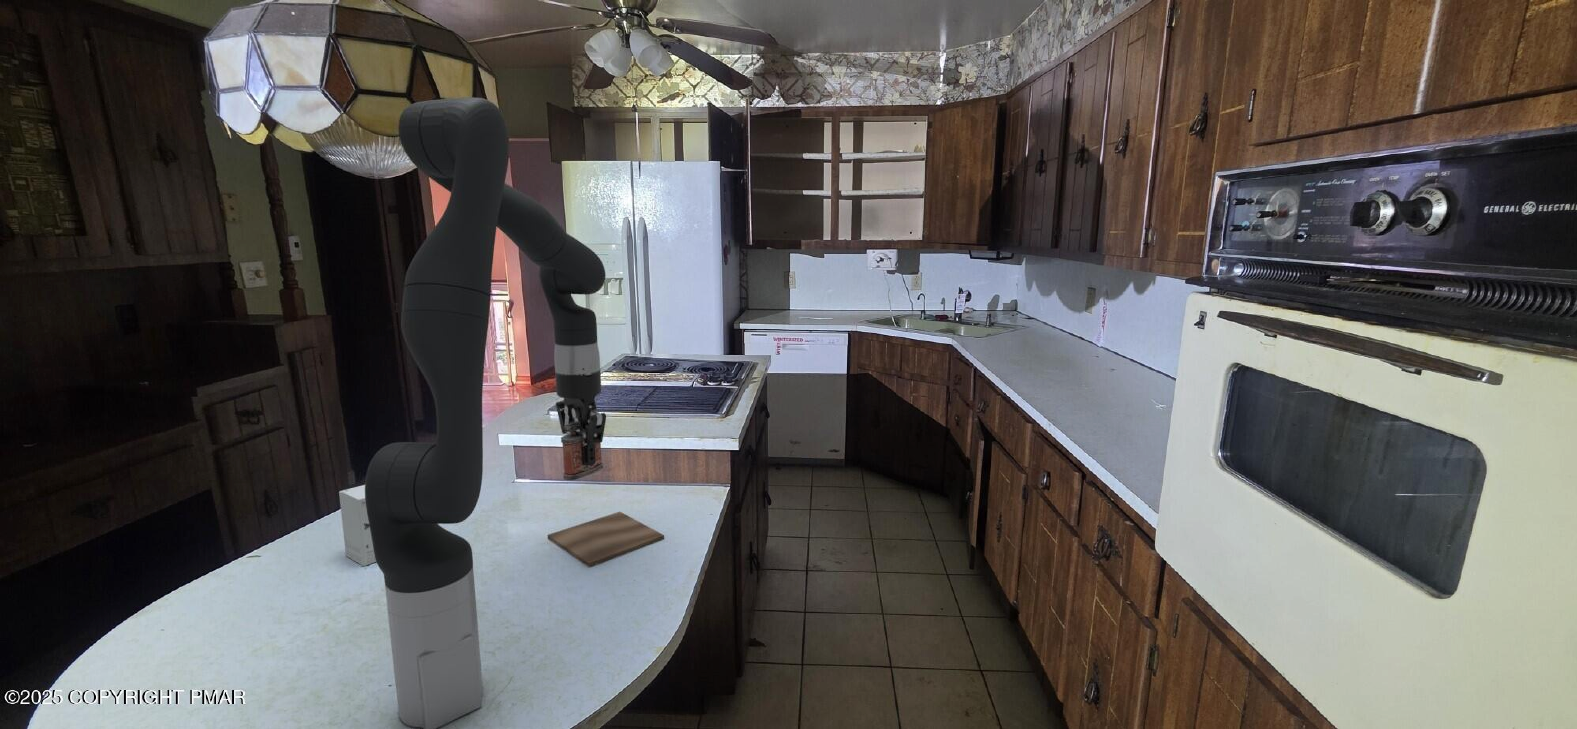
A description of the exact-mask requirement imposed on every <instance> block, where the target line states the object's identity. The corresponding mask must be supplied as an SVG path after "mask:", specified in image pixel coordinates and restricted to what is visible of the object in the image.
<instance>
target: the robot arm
mask: <svg viewBox="0 0 1577 729" xmlns="http://www.w3.org/2000/svg"><path fill="white" fill-rule="evenodd" d="M501 111H502V110H500V108H499V107H498V106H497V105H496V104H495V103H494V102H492V101H490V100H488V99H487V98H483V97H473V96H472V97H456V98H442V99H432V100H423V101H417V102H414V103H411V104H409V105H408V106H406V108H404V109H403V110H402V113H401V114H400V115H399V119H398V137H399V140H400V143H401V147H402V148H403V150H404V152H405V155H406V156H407V157H408V158H409V160H410V161H411V163H413V165H414V166H416V168H417V169H419V171H421V172H422V173H423V174H424V175H426V176H427V177H428V178H430V180H432V181H434V182H435V183H436V184H438V185H439V186H441V187H442V188H444V189H445V190H447V191H448V192H449V193H450V196H449V200H448V203H447V205H446V208H445V210H444V212H443V214H442V216H440V219H439V220H438V222H437V223H436V225H434V228H433V229H432V231H431V232H430V233H429V234H428V236H427V237H426V239H425V240H424V241H423V243H422V244H421V245H420V247H419V249H418V250H417V252H416V254H415V255H414V256H413V258H412V260H411V262H410V264H409V266H408V269H407V270H406V273H405V279H404V283H403V284H404V286H403V287H404V288H403V296H402V305H401V318H400V319H401V320H400V326H401V327H400V328H401V333H402V336H403V339H404V341H405V344H406V346H407V348H408V350H409V352H410V354H411V356H412V358H413V360H414V361H415V363H416V364H417V367H418V368H419V370H420V372H421V374H422V375H423V377H424V379H425V381H426V383H427V385H428V386H429V389H430V391H431V394H432V397H433V401H434V405H435V411H436V413H435V414H436V441H435V442H416V441H404V442H403V441H402V442H400V441H399V442H392V443H388V444H386V445H385V446H382V448H380V449H379V450H378V451H377V452H376V453H375V454H374V455H373V457H372V459H371V460H370V462H369V465H368V467H367V471H366V474H365V480H364V482H365V483H364V485H365V502H366V509H367V515H368V521H369V526H370V531H371V537H372V543H373V548H374V554H375V559H376V562H375V563H376V564H377V566H378V569H380V571H381V572H382V573H383V579H384V587H385V598H386V607H387V608H386V609H387V618H388V626H389V627H388V628H389V635H390V636H389V637H390V645H391V647H390V648H391V655H392V656H391V657H392V664H393V674H394V684H395V690H396V698H397V701H396V702H397V707H398V708H397V709H398V717H399V719H400V720H401V722H402V723H404V725H406V726H409V727H414V728H422V729H438V728H440V727H442V726H445V725H446V724H448V723H450V722H452V721H454V720H456V719H459V718H461V717H462V716H464V715H466V714H469V713H471V712H473V711H475V710H477V709H479V708H480V707H482V705H483V704H482V695H483V694H484V693H483V692H484V691H483V690H484V686H483V671H482V660H481V649H480V647H481V646H480V637H479V622H478V613H477V612H478V611H477V600H476V587H475V576H474V575H475V572H474V561H473V559H474V556H473V550H472V546H471V544H470V542H469V541H467V539H466V538H464V537H462V536H460V535H458V534H456V533H453V532H451V531H449V530H447V529H446V528H444V527H443V526H441V524H443V525H453V524H459V523H462V522H464V521H466V520H467V519H468V518H469V517H470V516H471V515H472V514H473V512H474V511H475V509H476V507H477V504H478V501H479V498H480V494H481V491H482V490H481V488H482V483H483V482H482V481H483V474H484V473H483V470H484V466H483V465H484V458H483V457H484V455H483V454H484V452H483V451H484V450H483V448H484V447H483V444H484V442H483V436H484V435H483V388H484V373H485V359H486V349H487V339H488V338H487V337H488V332H489V320H490V311H491V310H490V309H491V308H490V307H491V297H492V275H493V264H494V262H493V261H494V253H495V252H494V251H495V242H496V234H497V229H499V230H500V231H501V232H502V233H503V234H505V235H506V237H508V238H509V239H510V241H512V243H513V244H515V245H516V246H517V247H518V249H519V250H520V251H521V252H522V253H523V254H524V255H526V257H527V258H528V259H529V260H530V261H531V262H532V263H534V264H535V265H536V266H538V267H539V270H538V272H539V273H538V274H539V280H540V285H541V288H542V291H543V294H544V296H545V299H546V302H547V305H548V308H549V310H550V314H551V317H552V320H553V331H554V332H553V333H554V353H553V354H554V355H553V356H554V358H553V359H554V373H555V376H554V378H555V389H556V395H557V396H558V397H559V398H562V399H563V400H560V401H556V403H555V408H556V412H557V415H558V416H557V417H558V420H559V425H560V429H561V433H562V435H567V434H570V433H571V432H565V425H566V424H568V423H572V422H575V425H576V431H577V433H579V434H580V437H581V443H582V446H581V447H582V464H583V465H585V466H589V465H593V464H595V462H596V458H595V444H596V443H602V442H603V440H604V433H605V427H606V422H607V415H606V412H601V413H600V412H599V411H598V410H597V404H596V397H597V396H598V395H600V394H601V392H602V377H601V376H602V375H601V358H600V357H601V356H600V350H599V344H598V343H599V342H598V324H597V323H598V322H597V315H596V313H595V311H594V310H592V309H590V308H587V307H584V306H581V305H578V304H577V303H576V302H575V300H574V298H573V296H572V295H586V296H587V295H593V294H596V293H598V292H599V291H600V290H601V289H602V288H603V287H604V284H605V283H606V277H607V276H606V269H605V266H604V263H603V262H602V260H601V258H600V257H599V256H598V255H597V253H595V251H593V250H592V249H591V248H590V247H588V246H587V245H586V244H585V243H583V242H581V241H579V239H577V238H575V237H573V236H572V235H570V233H567V232H566V231H565V229H564V228H563V226H562V225H561V224H560V223H559V222H558V221H557V220H556V218H555V217H554V215H552V213H551V212H550V211H549V210H548V209H547V208H546V207H544V205H543V204H541V203H539V202H538V201H537V200H535V199H534V198H532V197H531V196H529V195H527V194H525V193H524V192H521V191H520V190H518V189H516V188H514V187H513V186H511V185H509V184H507V183H506V179H507V178H506V177H507V172H508V168H509V161H510V160H509V159H510V136H509V130H508V124H507V122H506V119H505V116H504V115H503V113H502V112H501ZM586 425H589V426H588V427H586V428H582V426H586ZM586 432H588V433H587V439H586ZM596 434H597V436H596Z"/></svg>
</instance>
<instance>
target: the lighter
mask: <svg viewBox="0 0 1577 729" xmlns="http://www.w3.org/2000/svg"><path fill="white" fill-rule="evenodd" d="M588 426H589V425H586V426H582V428H586V427H588ZM565 432H571V433H570V434H564V435H563V436H561V437H560V439H561V440H560V442H561V444H562V456H563V475H562V477H563V479H564V480H565V481H575V480H580V479H582V478H585V477H588V476H591V475H592V474H593V475H594V474H595V473H597V472H599V471H601V470H603V468H604V462H602V446H601V445H602V444H601V443H602V442H601V443H596V444H595V458H596V462H595V464H593V465H589V466H585V465H583V464H582V447H581V446H582V443H581V437H580V434H579V433H577V431H576V425H575V422H572V423H568V424H566V425H565ZM587 433H588V432H586V439H587ZM596 436H597V434H596Z"/></svg>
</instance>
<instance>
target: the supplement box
mask: <svg viewBox="0 0 1577 729" xmlns="http://www.w3.org/2000/svg"><path fill="white" fill-rule="evenodd" d="M338 495H339V504H340V514H341V522H342V532H343V540H344V549H345V550H344V551H345V556H346V557H348V558H349V559H351V560H352V561H354V562H355V563H358V564H359V565H360V566H363V567H366V566H368V565H370V564H373V563H377V562H376V559H375V554H374V548H373V543H372V537H371V531H370V526H369V521H368V515H367V509H366V502H365V484H363V485H359V486H355V487H352V488H347V489H342V490H340V491H339V492H338Z"/></svg>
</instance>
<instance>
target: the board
mask: <svg viewBox="0 0 1577 729" xmlns="http://www.w3.org/2000/svg"><path fill="white" fill-rule="evenodd" d="M547 539H548V540H549V541H550V542H552V543H553V544H555V545H556V546H557V547H559V548H561V549H562V550H564V552H565V551H566V553H568V554H569V555H571V556H572V557H574V558H575V559H577V560H578V561H580V562H581V563H582V564H584V565H585V564H586V566H587V567H588V568H591V567H594V566H597V565H599V564H603V563H605V562H607V561H609V560H613V559H615V558H618V557H620V556H623V555H625V554H628V553H627V552H629V553H631V552H634V551H636V550H639V549H641V548H644V547H647V546H649V544H650V545H652V544H654V542H655V543H658V542H660V541H663V540H665V535H664V534H663V533H661V532H659V531H657V530H655V529H654V528H652V527H649V526H648V525H646V524H644V523H642V522H640V521H638V520H636V519H635V518H633V517H631V516H629V515H627V514H625V513H623V512H621V511H617V512H614V513H611V514H608V515H605V516H602V517H599V518H596V519H593V520H590V521H586V522H583V523H581V524H577V525H574V526H570V527H568V528H565V529H562V530H559V531H555V532H552V533H548V534H547ZM662 539H663V540H662ZM657 541H658V542H657ZM646 545H647V546H646ZM633 550H634V551H633ZM617 556H618V557H617ZM596 564H597V565H596Z"/></svg>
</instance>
